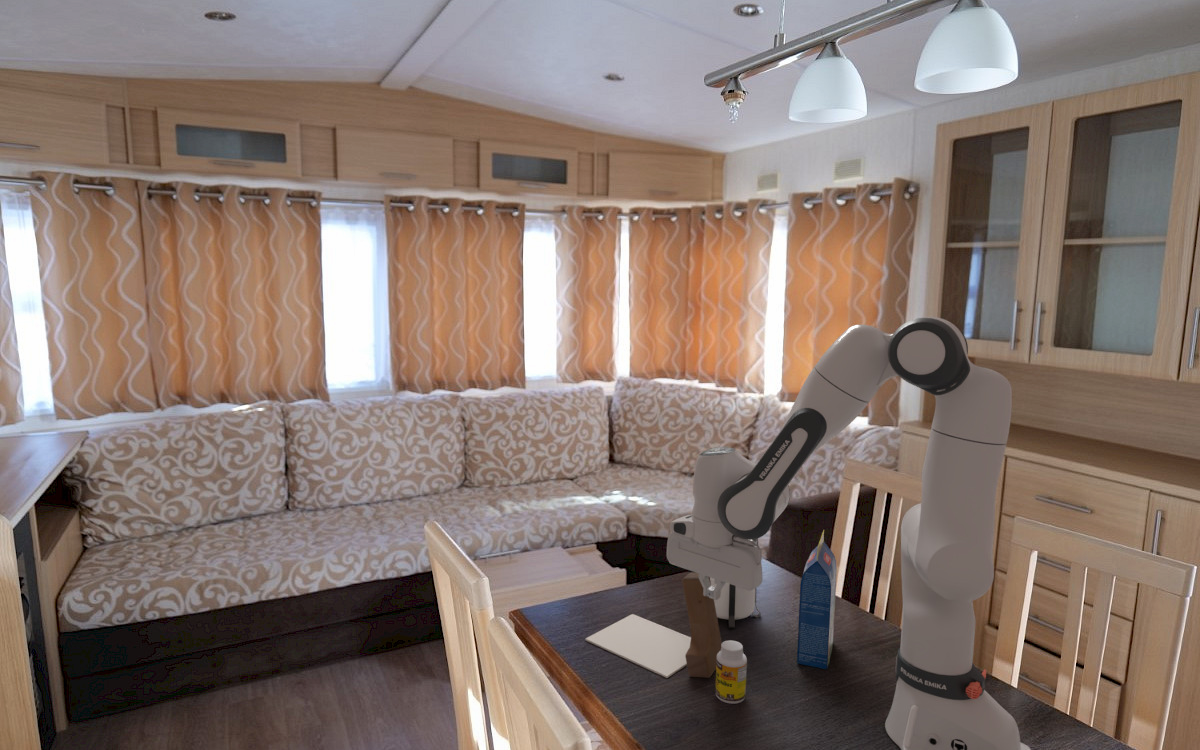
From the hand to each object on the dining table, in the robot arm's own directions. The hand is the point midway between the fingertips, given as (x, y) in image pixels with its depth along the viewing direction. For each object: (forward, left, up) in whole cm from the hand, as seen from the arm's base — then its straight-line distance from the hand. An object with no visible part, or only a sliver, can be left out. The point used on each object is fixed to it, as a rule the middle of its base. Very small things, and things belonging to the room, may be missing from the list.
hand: (711, 597), depth 141 cm
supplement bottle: (-8, +5, -16) cm, 18 cm away
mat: (+16, 0, -15) cm, 22 cm away
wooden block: (+1, 0, -15) cm, 15 cm away
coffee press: (+12, -23, -16) cm, 30 cm away
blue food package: (-12, -21, -16) cm, 29 cm away
